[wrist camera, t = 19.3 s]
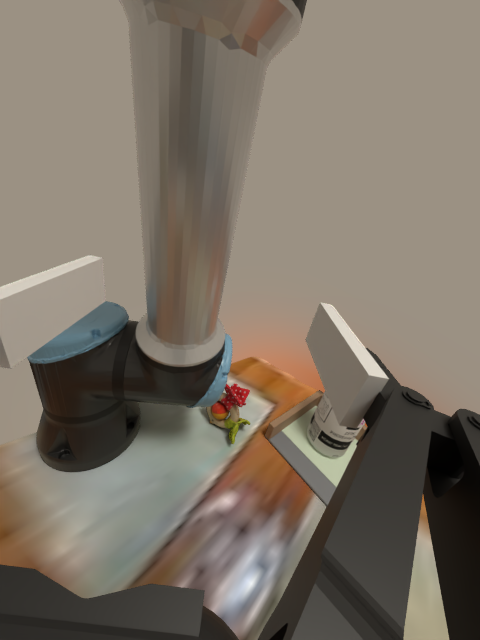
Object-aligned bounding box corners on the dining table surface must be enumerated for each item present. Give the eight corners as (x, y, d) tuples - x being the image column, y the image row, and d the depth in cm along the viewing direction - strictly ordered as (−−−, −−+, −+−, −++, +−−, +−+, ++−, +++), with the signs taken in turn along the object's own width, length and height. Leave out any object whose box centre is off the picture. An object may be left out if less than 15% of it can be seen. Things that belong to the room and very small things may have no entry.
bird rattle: (203, 440, 46) (244, 451, 42) (190, 392, 43) (233, 399, 39) (219, 418, 51) (257, 426, 47) (208, 374, 48) (248, 378, 44)
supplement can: (321, 417, 54) (348, 367, 47) (353, 448, 48) (388, 396, 41) (297, 431, 49) (323, 377, 42) (329, 467, 43) (365, 412, 37)
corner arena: (264, 436, 47) (269, 423, 45) (313, 401, 59) (319, 389, 57) (345, 527, 36) (356, 515, 34) (387, 462, 47) (397, 450, 46)
